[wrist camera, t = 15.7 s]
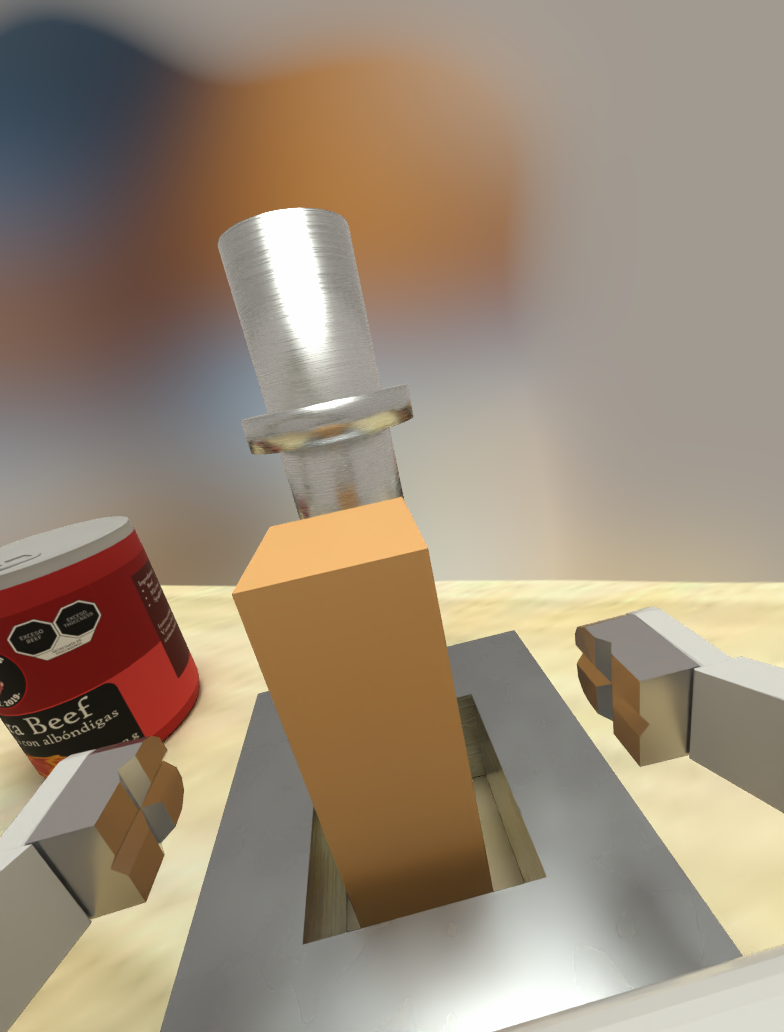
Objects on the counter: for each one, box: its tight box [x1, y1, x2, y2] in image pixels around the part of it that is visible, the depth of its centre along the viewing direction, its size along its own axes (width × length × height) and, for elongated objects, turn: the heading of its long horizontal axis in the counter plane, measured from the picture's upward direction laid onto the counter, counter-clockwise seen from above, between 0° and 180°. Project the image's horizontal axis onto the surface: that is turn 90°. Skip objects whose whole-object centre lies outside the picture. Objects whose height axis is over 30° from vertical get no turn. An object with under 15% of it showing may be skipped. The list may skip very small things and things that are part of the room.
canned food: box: [0, 516, 199, 778], centre depth 20 cm, size 8×8×11 cm
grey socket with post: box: [160, 208, 743, 1032], centre depth 12 cm, size 16×11×20 cm
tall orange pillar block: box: [232, 497, 493, 928], centre depth 10 cm, size 4×4×12 cm
